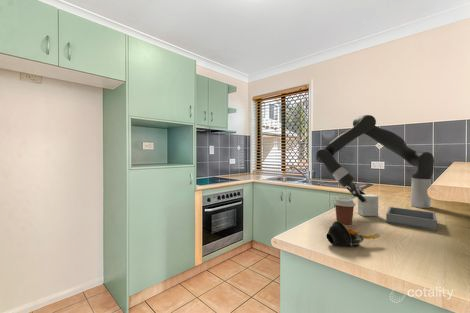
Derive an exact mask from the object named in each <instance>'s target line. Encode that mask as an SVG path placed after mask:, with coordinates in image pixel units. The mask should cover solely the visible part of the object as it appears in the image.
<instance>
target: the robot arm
mask: <svg viewBox="0 0 470 313" xmlns="http://www.w3.org/2000/svg"><path fill="white" fill-rule="evenodd" d="M376 124H377V120H376V118H375V116H373V115H370V114H365V115H358V116H357V117H355V118H354V119H353V120H352V126H353V127H351V128H350V129H349V130H347V131H345V132H343V133H341V134H339V135H338V136H336V137H335V138H334V139H332V141H330V142H329V143H328V144H327V145H326V147H324V148H319V149H318V150H317V151H316V153H315V154H316V155H315V160H316V161H317V162H318V163H321V164H324V165H325V167H326V170H328V172H329V173H330V174H331V176H333V178H334V179H335V180H336V181H337V182H338V183H339V184H340V186H342V187H343V188H346V189H347V191H349V192H350V193H351V195H353V197H356V198H357V200H358V199H359V200H360V201H361V202H365V201H366V199H365V198H364V197H363V196H362V195H360V194H366V192H364V188H362V187H361V186H360V185H359V184H358V183H357V182H354V181H355V177H354V176H353V175H352V174H351V173H350V172H349V171H348V170H347V169H346V168H344V167H343V166H342V165H341V164H340V163H339V162H338V161H337V160H336V159H335V157H334V156H335V154H337V153H338V152H340V151H341V150H342V149H343V148H345V147H346V146H347V145H348V144H349V143H351V142H353V141H354V140H355V139H357V138H359V137H360V136H362V135H366V136H368V137H370V139H373V140H374V141H376V142H377V143H379V144H380V145H381V146H382V147H385V148H386V149H387V150H389V151H391V152H392V153H394V154H396V155H398V156H399V157H401V158H402V159H404V160H405V161H406V162H407V163H408V164H409V165H410V166H413V167H417V170H416V171H415V172H412V173H411V181H410V182H411V185H410V186H411V187H410V190H411V191H410V206H411V207H414V208H419V209H430V208H432V207H431V203H432V202H431V198H432V197H431V198H429V197H428V195H427V189H428V188H429V186H430V185H431V186H432V176H433V174H434V166H435V157H434V155H433V154H432V153H431V152H429V151H416V150H414V149H412V148H410V147H409V146H407V144H406V141H405V140H404V138H402V137H401V136H399V135H398V134H396V133H395V132H393V131H390V130H387V129H384V128H381V127H378V126H376Z"/></svg>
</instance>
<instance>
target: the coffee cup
mask: <svg viewBox="0 0 470 313" xmlns="http://www.w3.org/2000/svg"><path fill="white" fill-rule="evenodd" d="M333 204H334V205H335V207H334V208H335V219H336V221H337V222H340V223H341V224H343V225H345V227H346V228H350V227H353V220H354V219H353V216H354V207H356V203H355V202H354V200H353V199H352V198H350V197H349V198H348V197H337V198H336V199H335V200H334V201H333Z"/></svg>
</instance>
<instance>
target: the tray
mask: <svg viewBox="0 0 470 313" xmlns="http://www.w3.org/2000/svg"><path fill="white" fill-rule="evenodd" d="M385 223H386V224H391V225H396V226H402V227H407V228H409V227H410V228H414V229H415V228H416V229H420V230H421V229H422V230H426V231H431V232H432V231H433V232H438V219H437V215H436V212H432V211H425V210H417V209H411V208H410V209H409V208H404V207H402V208H401V207H394V206H389V207H388V209H387V211H386V219H385Z"/></svg>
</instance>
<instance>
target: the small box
mask: <svg viewBox="0 0 470 313" xmlns="http://www.w3.org/2000/svg"><path fill="white" fill-rule="evenodd" d="M360 195H362V196H363V197H364V198H365V199H366V201H365V202H361V201H360V200H359V199H358V198H357V214H358V215H361V216H362V217H379V196H378V195H375V194H366V193H365V194H360Z"/></svg>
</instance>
